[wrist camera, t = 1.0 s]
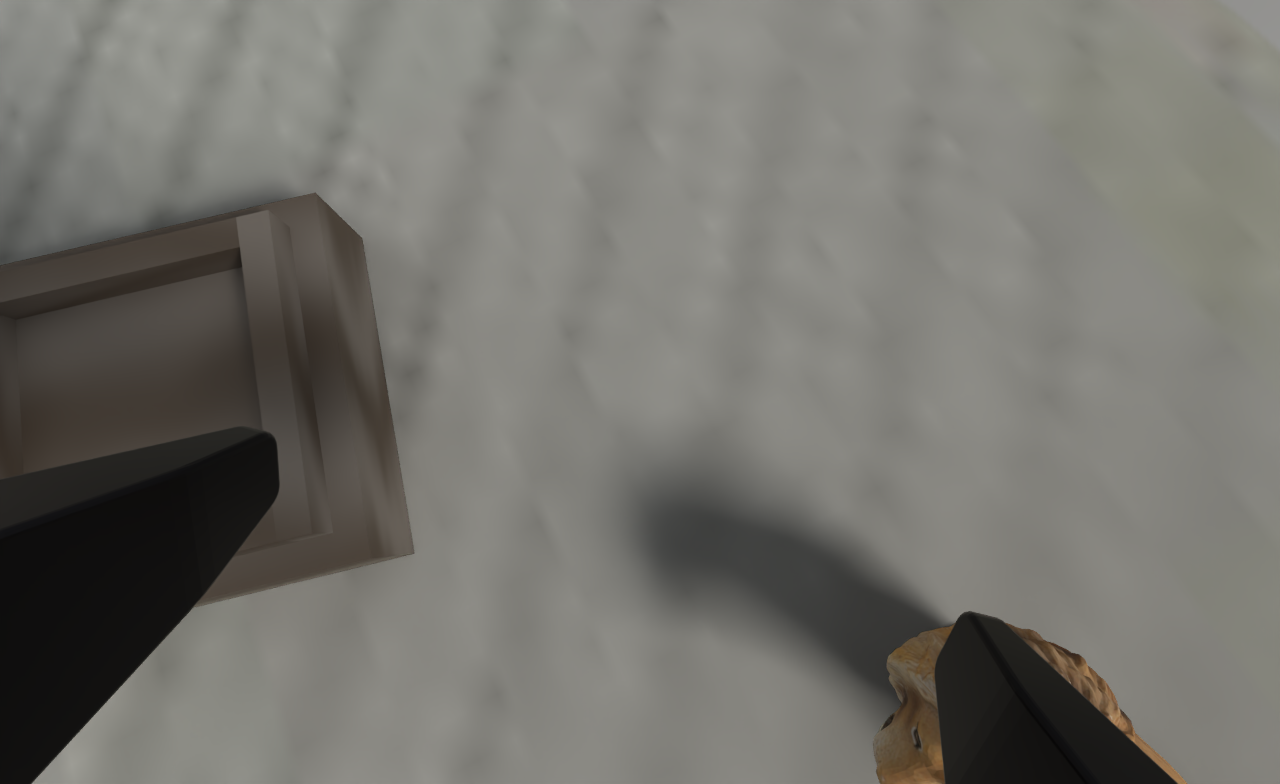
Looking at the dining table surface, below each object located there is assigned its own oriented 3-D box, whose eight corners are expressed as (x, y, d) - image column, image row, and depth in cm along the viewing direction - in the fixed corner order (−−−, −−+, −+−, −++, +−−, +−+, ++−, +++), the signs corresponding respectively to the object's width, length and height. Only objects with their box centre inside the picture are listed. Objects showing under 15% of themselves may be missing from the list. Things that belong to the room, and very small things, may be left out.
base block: (414, 553, 23) (352, 560, 18) (68, 637, 22) (-83, 666, 18) (361, 238, 25) (295, 173, 20) (48, 310, 25) (-90, 262, 20)
